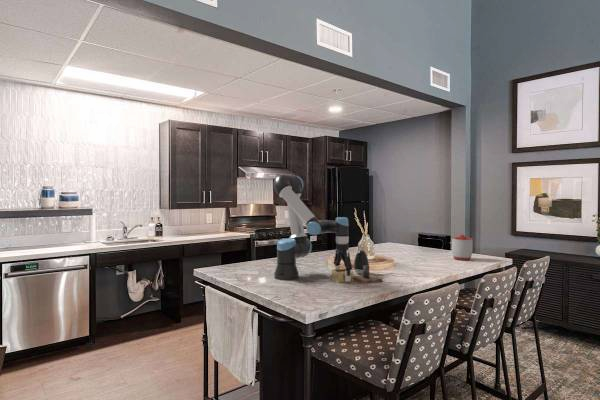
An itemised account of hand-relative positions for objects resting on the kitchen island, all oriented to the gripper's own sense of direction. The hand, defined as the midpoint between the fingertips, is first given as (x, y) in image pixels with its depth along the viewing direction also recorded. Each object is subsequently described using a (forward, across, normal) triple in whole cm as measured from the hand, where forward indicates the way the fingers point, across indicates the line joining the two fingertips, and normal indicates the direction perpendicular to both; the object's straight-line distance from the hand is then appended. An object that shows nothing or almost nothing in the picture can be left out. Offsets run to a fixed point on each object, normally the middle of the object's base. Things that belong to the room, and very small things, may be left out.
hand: (342, 278), depth 218 cm
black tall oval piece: (+1, +13, -20) cm, 24 cm away
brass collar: (+1, 0, 0) cm, 1 cm away
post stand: (+1, -4, -14) cm, 14 cm away
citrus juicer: (+2, +34, -121) cm, 126 cm away
